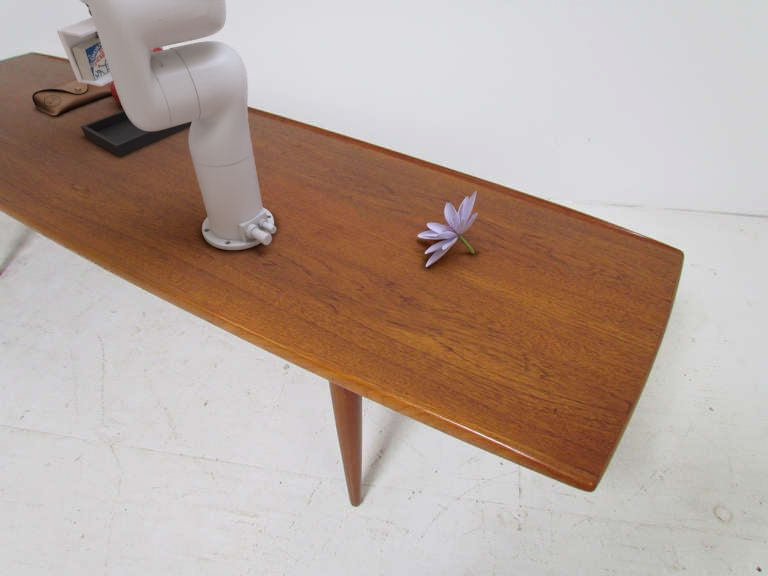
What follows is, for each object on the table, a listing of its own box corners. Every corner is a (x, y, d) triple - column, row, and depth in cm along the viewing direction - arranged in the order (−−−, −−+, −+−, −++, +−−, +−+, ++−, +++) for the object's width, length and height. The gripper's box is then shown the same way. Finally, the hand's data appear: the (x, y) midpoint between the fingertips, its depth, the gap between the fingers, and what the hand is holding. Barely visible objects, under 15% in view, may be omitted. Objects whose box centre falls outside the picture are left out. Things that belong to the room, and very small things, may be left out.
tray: (209, 117, 120) (206, 107, 118) (120, 157, 106) (116, 146, 104) (173, 101, 125) (171, 91, 124) (85, 137, 112) (80, 126, 110)
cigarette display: (100, 87, 96) (80, 34, 89) (77, 81, 97) (56, 30, 91) (169, 52, 109) (156, 4, 102) (148, 48, 110) (134, 1, 104)
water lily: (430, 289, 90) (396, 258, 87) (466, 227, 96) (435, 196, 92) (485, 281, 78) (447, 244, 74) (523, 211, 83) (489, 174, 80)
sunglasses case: (55, 116, 117) (35, 88, 114) (47, 123, 122) (28, 96, 119) (121, 90, 128) (105, 64, 125) (111, 97, 133) (95, 73, 130)
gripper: (35, -72, 88) (76, 36, 101) (89, -56, 81) (126, 57, 94) (75, -77, 93) (110, 27, 105) (130, -63, 86) (160, 46, 98)
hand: (117, 40), depth 100 cm, fingers closed on cigarette display, 6 cm apart
